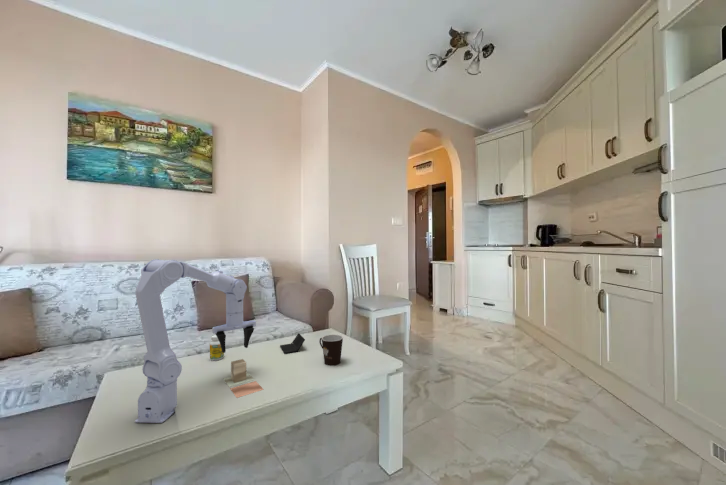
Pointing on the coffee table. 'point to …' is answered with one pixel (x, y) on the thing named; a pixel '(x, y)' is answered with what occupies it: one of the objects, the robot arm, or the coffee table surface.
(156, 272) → the robot arm
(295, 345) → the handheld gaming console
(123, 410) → the coffee table surface
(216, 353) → the supplement bottle
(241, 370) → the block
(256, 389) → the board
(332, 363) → the coffee mug
